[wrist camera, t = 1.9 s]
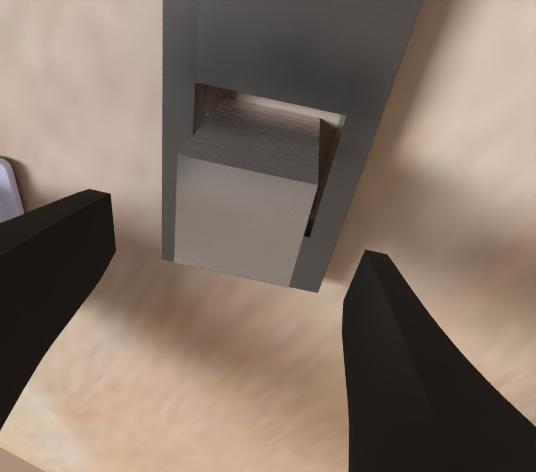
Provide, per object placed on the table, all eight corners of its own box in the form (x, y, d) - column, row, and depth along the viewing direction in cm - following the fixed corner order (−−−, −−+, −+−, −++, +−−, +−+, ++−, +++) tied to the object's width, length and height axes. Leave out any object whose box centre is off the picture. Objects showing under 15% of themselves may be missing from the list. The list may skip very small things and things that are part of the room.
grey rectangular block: (215, 182, 17) (174, 262, 13) (224, 97, 15) (177, 155, 10) (298, 200, 17) (288, 287, 13) (319, 117, 15) (318, 185, 10)
